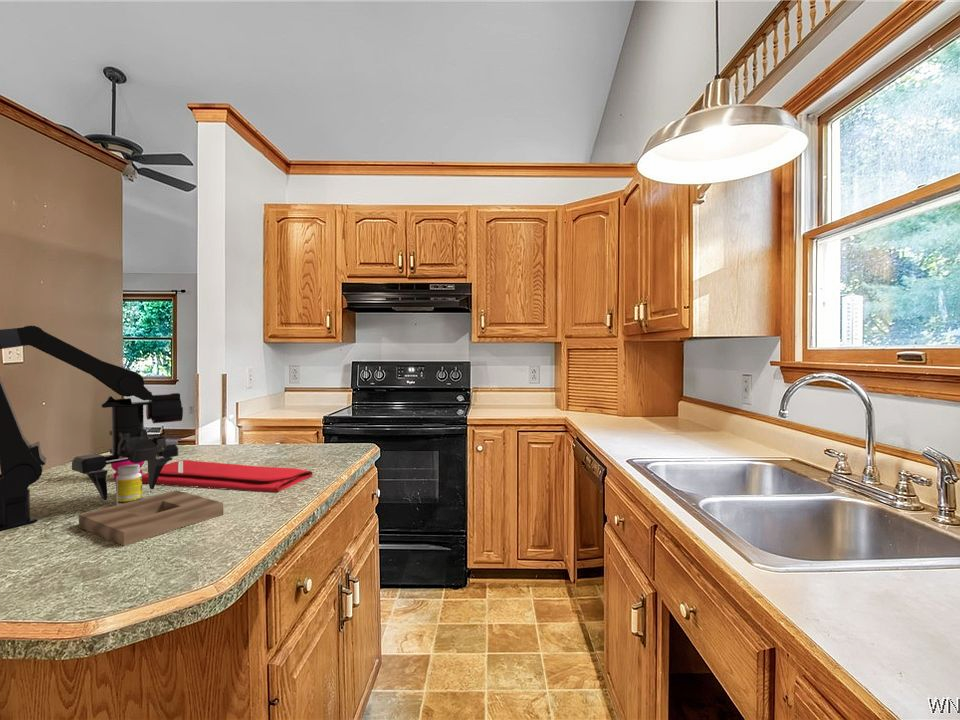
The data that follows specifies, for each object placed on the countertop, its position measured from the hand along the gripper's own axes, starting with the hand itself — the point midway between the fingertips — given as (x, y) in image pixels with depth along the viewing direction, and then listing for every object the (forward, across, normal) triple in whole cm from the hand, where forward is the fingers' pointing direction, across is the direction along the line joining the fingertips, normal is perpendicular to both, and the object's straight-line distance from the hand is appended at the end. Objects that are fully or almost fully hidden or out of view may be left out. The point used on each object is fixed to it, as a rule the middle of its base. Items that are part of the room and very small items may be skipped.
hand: (129, 494), depth 105 cm
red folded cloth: (+3, +22, -1) cm, 23 cm away
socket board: (+2, -3, -17) cm, 17 cm away
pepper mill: (+2, +10, +24) cm, 26 cm away
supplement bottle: (+2, 0, 0) cm, 2 cm away
